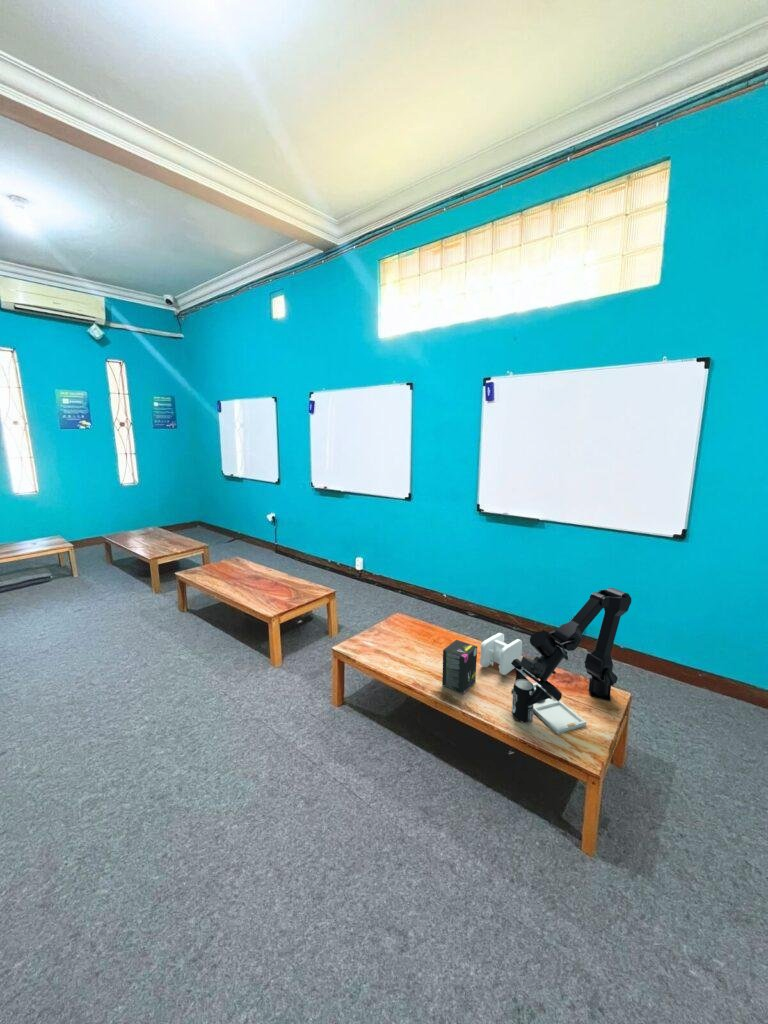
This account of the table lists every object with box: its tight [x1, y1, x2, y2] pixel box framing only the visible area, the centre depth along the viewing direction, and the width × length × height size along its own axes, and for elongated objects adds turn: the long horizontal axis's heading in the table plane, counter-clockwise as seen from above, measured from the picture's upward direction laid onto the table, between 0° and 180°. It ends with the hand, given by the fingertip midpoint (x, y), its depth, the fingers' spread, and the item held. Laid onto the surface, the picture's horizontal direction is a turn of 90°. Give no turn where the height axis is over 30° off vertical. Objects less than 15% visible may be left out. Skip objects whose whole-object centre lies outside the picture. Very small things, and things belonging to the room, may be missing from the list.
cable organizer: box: [479, 632, 523, 676], centre depth 163 cm, size 15×11×12 cm
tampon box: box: [441, 639, 478, 695], centre depth 151 cm, size 11×9×15 cm
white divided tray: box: [511, 682, 587, 735], centre depth 138 cm, size 12×23×2 cm, turn 19°
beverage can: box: [511, 679, 534, 723], centre depth 132 cm, size 7×7×12 cm
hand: (519, 699), depth 132 cm, fingers closed on beverage can, 7 cm apart
